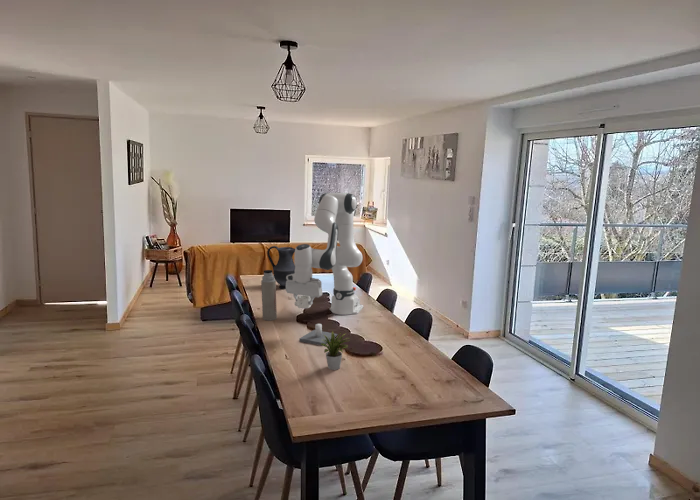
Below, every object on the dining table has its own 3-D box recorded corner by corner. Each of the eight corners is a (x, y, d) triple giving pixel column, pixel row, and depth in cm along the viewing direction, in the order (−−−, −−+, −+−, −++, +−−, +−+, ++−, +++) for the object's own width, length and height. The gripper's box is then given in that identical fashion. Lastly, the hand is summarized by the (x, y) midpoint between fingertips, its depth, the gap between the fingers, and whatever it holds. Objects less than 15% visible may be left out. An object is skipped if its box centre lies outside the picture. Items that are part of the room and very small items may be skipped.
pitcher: (296, 290, 337) (295, 248, 331) (266, 290, 337) (264, 248, 332) (299, 284, 354) (298, 243, 348) (270, 284, 354) (269, 243, 349)
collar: (302, 304, 251) (302, 294, 250) (312, 305, 248) (312, 296, 247) (291, 309, 242) (291, 299, 241) (302, 310, 239) (301, 301, 238)
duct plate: (314, 332, 254) (313, 318, 252) (337, 336, 247) (337, 322, 246) (299, 341, 241) (299, 326, 240) (323, 345, 235) (323, 331, 234)
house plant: (337, 378, 200) (337, 341, 197) (310, 371, 207) (310, 334, 204) (355, 366, 211) (355, 330, 209) (329, 359, 219) (329, 325, 216)
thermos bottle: (278, 316, 280) (277, 269, 275) (273, 320, 273) (272, 272, 268) (265, 315, 282) (264, 268, 277) (260, 320, 274) (258, 271, 269)
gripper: (324, 277, 242) (324, 304, 244) (290, 273, 251) (291, 299, 254) (317, 280, 236) (318, 307, 239) (283, 276, 246) (284, 302, 248)
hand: (304, 303), depth 246 cm, fingers closed on collar, 6 cm apart
